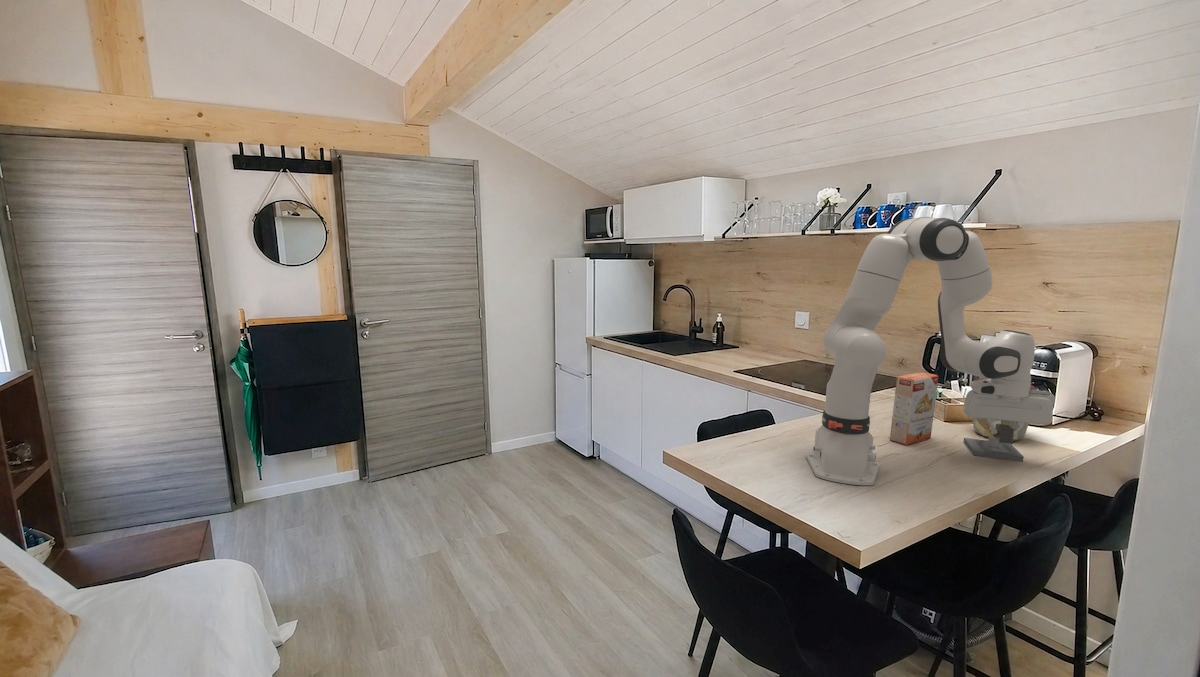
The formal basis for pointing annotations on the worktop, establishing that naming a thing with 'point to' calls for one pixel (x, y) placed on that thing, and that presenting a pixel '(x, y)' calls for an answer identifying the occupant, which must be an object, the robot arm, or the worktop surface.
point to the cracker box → (913, 407)
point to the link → (1004, 432)
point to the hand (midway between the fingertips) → (1003, 435)
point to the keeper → (993, 448)
